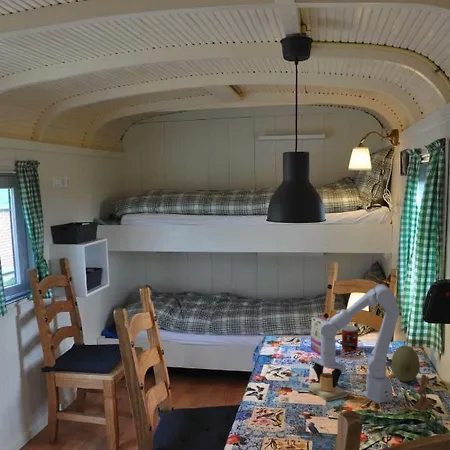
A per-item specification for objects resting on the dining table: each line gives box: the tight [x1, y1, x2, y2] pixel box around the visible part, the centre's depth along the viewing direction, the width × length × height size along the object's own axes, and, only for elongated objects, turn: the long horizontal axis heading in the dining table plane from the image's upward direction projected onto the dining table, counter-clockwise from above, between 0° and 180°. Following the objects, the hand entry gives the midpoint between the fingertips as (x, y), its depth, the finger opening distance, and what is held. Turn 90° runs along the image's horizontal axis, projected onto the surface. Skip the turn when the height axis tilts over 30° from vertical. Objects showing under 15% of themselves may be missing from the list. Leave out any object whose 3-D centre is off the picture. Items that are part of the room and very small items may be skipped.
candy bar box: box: [310, 316, 327, 357], centre depth 237 cm, size 11×5×16 cm, turn 17°
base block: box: [307, 382, 348, 402], centre depth 193 cm, size 12×10×2 cm
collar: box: [320, 372, 335, 391], centre depth 193 cm, size 6×6×5 cm
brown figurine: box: [412, 374, 433, 412], centre depth 181 cm, size 9×4×12 cm, turn 138°
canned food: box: [341, 325, 359, 353], centre depth 241 cm, size 8×8×11 cm
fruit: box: [391, 345, 421, 383], centre depth 204 cm, size 11×11×15 cm
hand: (327, 384), depth 193 cm, fingers closed on collar, 6 cm apart
